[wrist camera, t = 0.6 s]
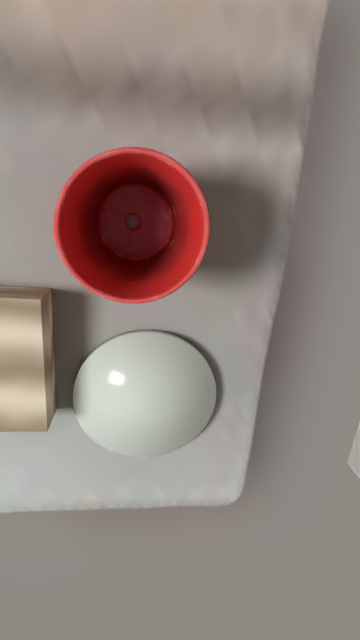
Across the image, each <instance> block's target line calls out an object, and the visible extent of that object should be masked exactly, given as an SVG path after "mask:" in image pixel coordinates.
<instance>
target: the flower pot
mask: <svg viewBox="0 0 360 640" xmlns="http://www.w3.org/2000/svg"><path fill="white" fill-rule="evenodd" d="M209 236H210V217H209V211H208V206H207V203H206V200H205V197H204V194H203V192H202V190H201V188H200V187H199V185H198V183H197V182H196V180H195V179H194V177H193V176H192V175H191V174H190V173H189V171H188V170H187V169H185V168H184V167H183V166H182V165H181V164H180V163H178V162H177V161H176V160H174V159H173V158H171V157H169V156H167V155H165V154H163V153H161V152H158V151H155V150H152V149H147V148H140V147H123V148H118V149H113V150H109V151H106V152H103V153H101V154H99V155H96V156H94V157H93V158H91V159H89V160H88V161H86V162H85V163H84V164H82V165H81V166H80V167H79V168H78V169H77V170H76V171H75V172H74V173H73V174H72V175H71V177H70V178H69V179H68V181H67V182H66V184H65V185H64V187H63V189H62V191H61V193H60V196H59V198H58V201H57V204H56V209H55V214H54V238H55V243H56V246H57V249H58V252H59V255H60V257H61V259H62V261H63V263H64V264H65V266H66V268H67V269H68V270H69V272H70V273H71V274H72V275H73V276H74V277H75V278H76V279H77V280H78V281H79V282H80V283H81V284H82V285H83V286H84V287H86V288H87V289H89V290H90V291H92V292H93V293H95V294H97V295H99V296H101V297H104V298H106V299H109V300H112V301H117V302H122V303H146V302H151V301H155V300H158V299H161V298H163V297H165V296H167V295H169V294H171V293H173V292H174V291H176V290H177V289H179V288H180V287H181V286H183V285H184V284H185V283H186V282H187V281H188V280H189V279H190V278H191V277H192V276H193V274H194V273H195V272H196V270H197V269H198V267H199V265H200V264H201V262H202V260H203V258H204V255H205V253H206V250H207V246H208V242H209Z"/></svg>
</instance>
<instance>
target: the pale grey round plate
mask: <svg viewBox="0 0 360 640" xmlns="http://www.w3.org/2000/svg"><path fill="white" fill-rule="evenodd" d="M215 402H216V383H215V379H214V376H213V373H212V371H211V368H210V366H209V364H208V362H207V361H206V359H205V357H204V356H203V355H202V354H201V352H200V351H199V350H198V349H197V348H196V347H194V346H193V345H192V344H191V343H189V342H188V341H186V340H185V339H183V338H181V337H179V336H177V335H174V334H171V333H168V332H164V331H159V330H136V331H129V332H126V333H122V334H119V335H117V336H114V337H112V338H110V339H108V340H107V341H105V342H103V343H102V344H100V345H99V346H98V347H96V348H95V349H94V350H93V351H92V352H91V353H90V354H89V355H88V357H87V358H86V359H85V361H84V362H83V364H82V366H81V367H80V369H79V372H78V375H77V377H76V380H75V383H74V388H73V407H74V411H75V415H76V417H77V419H78V422H79V424H80V425H81V427H82V428H83V430H84V431H85V432H86V433H87V435H88V436H89V437H90V438H91V439H93V440H94V441H95V442H96V443H98V444H99V445H100V446H102V447H104V448H106V449H108V450H110V451H112V452H115V453H118V454H121V455H125V456H132V457H153V456H159V455H163V454H166V453H170V452H172V451H175V450H177V449H179V448H181V447H183V446H184V445H186V444H187V443H189V442H190V441H192V440H193V439H194V438H195V437H196V436H197V435H198V434H199V433H200V432H201V431H202V430H203V429H204V427H205V426H206V424H207V423H208V421H209V419H210V417H211V416H212V413H213V410H214V407H215Z"/></svg>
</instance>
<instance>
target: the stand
mask: <svg viewBox="0 0 360 640" xmlns="http://www.w3.org/2000/svg"><path fill="white" fill-rule="evenodd" d="M55 411H56V389H55V365H54V341H53V317H52V293H51V288H34V287H14V286H0V432H41V431H48V429H49V426H50V424H51V421H52V419H53V416H54V413H55Z"/></svg>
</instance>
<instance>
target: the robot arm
mask: <svg viewBox="0 0 360 640" xmlns="http://www.w3.org/2000/svg"><path fill="white" fill-rule="evenodd" d="M347 463H348V464H349V465H350V467H351V468H352V469H353V471H354V472H355V474H356V475H357V476H358V478H359V479H360V423H359V426H358V429H357V432H356V436H355V439H354V442H353V446H352V449H351V452H350V455H349V459H348V462H347Z"/></svg>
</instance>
